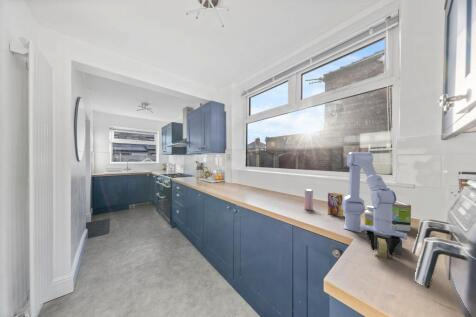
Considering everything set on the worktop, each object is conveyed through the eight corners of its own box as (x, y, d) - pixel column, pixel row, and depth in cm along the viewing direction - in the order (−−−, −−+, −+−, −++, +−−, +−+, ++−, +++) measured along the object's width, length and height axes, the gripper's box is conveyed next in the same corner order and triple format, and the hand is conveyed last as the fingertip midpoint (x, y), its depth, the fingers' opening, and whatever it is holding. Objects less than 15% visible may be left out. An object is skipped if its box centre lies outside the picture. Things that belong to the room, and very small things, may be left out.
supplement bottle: (369, 226, 97) (369, 204, 97) (382, 231, 91) (383, 207, 91) (361, 227, 95) (362, 205, 95) (374, 233, 89) (375, 209, 89)
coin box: (369, 238, 83) (369, 226, 83) (396, 244, 78) (396, 231, 77) (371, 246, 75) (371, 233, 75) (401, 254, 69) (402, 240, 69)
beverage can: (305, 207, 132) (306, 188, 132) (313, 209, 129) (314, 189, 128) (303, 209, 128) (303, 189, 128) (311, 210, 124) (311, 191, 124)
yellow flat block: (377, 251, 72) (377, 237, 71) (384, 253, 70) (384, 239, 70) (378, 257, 67) (378, 242, 67) (386, 259, 66) (386, 244, 66)
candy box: (343, 215, 115) (343, 193, 115) (341, 217, 112) (342, 194, 111) (329, 212, 121) (329, 191, 121) (327, 213, 118) (327, 192, 118)
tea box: (411, 231, 91) (412, 205, 90) (390, 230, 93) (390, 203, 92) (391, 221, 105) (392, 198, 105) (373, 220, 107) (374, 197, 107)
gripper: (361, 217, 69) (360, 250, 70) (409, 226, 61) (409, 262, 61) (360, 213, 75) (359, 242, 75) (404, 220, 67) (404, 253, 67)
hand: (381, 251), depth 69 cm, fingers open, 5 cm apart
